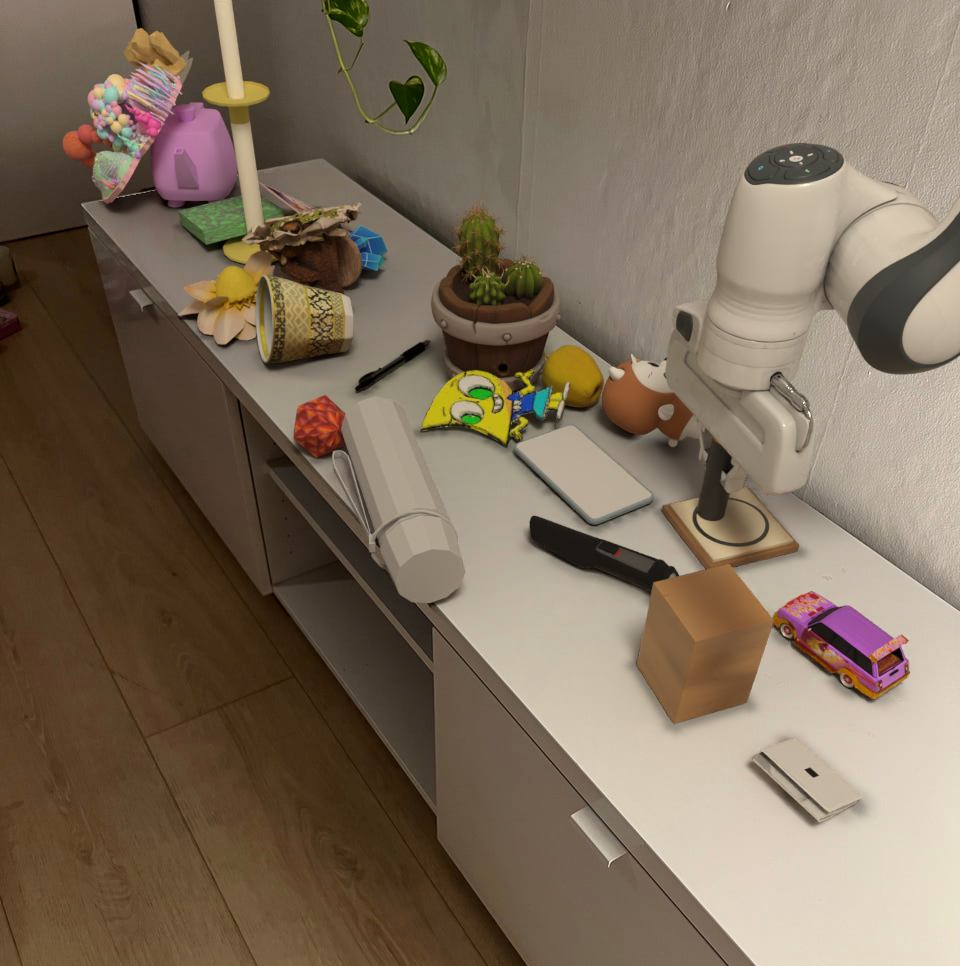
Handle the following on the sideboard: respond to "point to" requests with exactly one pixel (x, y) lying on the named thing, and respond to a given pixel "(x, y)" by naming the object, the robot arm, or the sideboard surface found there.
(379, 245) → the gemstone
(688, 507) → the ringed wooden coaster
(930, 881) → the sideboard surface
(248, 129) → the candle
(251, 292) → the decorative flower
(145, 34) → the candy platter
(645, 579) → the electric trimmer
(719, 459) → the marker
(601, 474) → the smartphone
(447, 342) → the flowerpot
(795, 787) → the laptop
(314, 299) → the ceramic cup
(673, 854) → the sideboard surface
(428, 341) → the pen
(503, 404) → the toy
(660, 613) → the brown block
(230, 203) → the green jade tablet
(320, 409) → the decorative stone
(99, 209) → the sideboard surface
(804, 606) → the toy car
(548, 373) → the apple
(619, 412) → the figurine
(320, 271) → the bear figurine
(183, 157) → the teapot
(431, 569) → the water bottle
